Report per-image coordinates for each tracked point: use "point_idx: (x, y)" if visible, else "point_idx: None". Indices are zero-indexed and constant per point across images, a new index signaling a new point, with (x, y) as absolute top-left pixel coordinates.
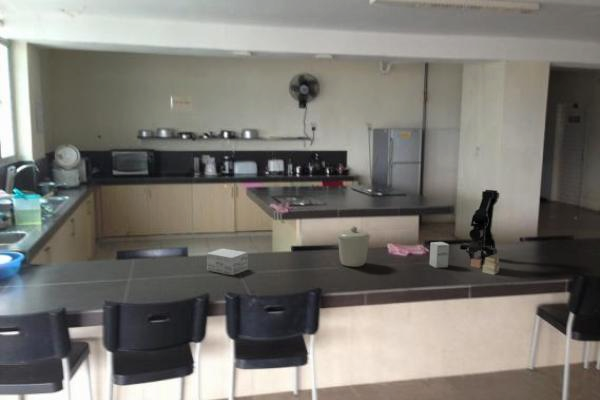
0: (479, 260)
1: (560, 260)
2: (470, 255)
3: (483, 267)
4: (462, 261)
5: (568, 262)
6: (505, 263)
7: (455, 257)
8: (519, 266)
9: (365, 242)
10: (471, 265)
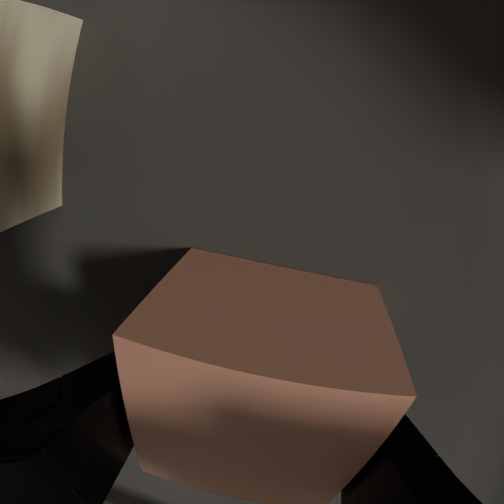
0: (136, 357)
1: None
2: (446, 501)
3: (16, 5)
4: (473, 427)
5: None
6: None
7: (498, 470)
8: None
9: None
10: (363, 291)
